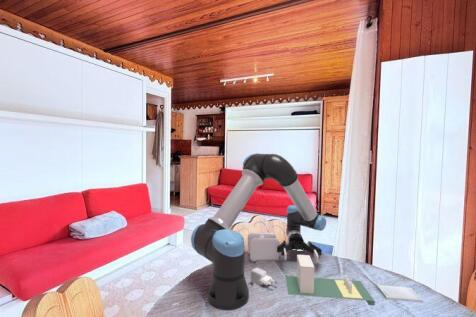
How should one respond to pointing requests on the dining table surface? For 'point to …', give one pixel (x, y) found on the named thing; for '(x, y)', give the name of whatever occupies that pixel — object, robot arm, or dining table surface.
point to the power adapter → (261, 277)
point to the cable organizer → (263, 246)
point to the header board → (332, 289)
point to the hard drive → (398, 293)
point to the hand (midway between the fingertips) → (301, 258)
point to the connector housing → (305, 274)
